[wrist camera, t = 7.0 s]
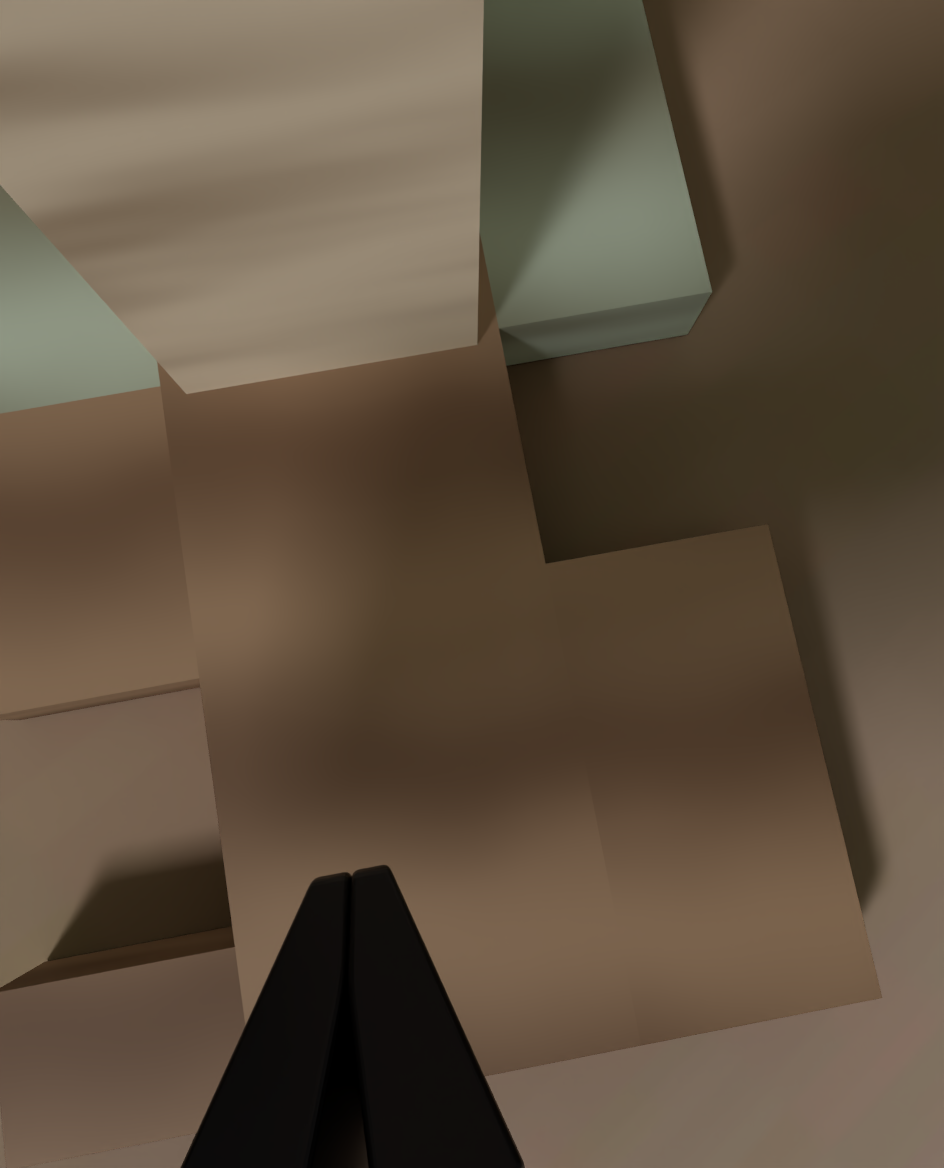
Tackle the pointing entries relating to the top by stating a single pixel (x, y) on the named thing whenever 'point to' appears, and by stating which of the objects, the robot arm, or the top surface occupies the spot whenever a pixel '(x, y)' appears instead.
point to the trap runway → (420, 646)
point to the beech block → (255, 173)
